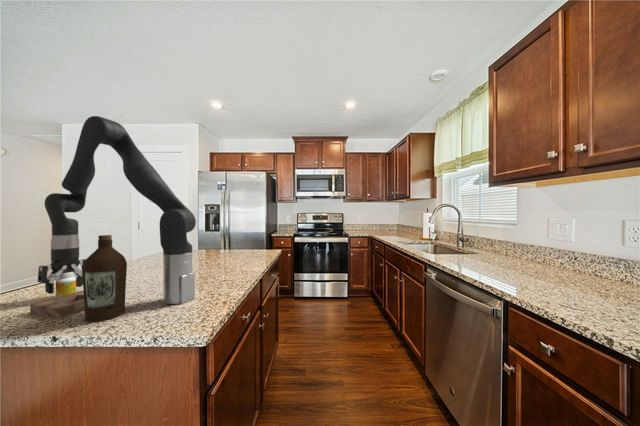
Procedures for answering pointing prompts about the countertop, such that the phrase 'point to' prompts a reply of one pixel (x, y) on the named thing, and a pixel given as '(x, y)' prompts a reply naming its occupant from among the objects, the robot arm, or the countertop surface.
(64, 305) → the socket board
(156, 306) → the countertop surface
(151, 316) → the countertop surface
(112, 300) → the olive oil
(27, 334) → the countertop surface
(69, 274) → the supplement bottle
